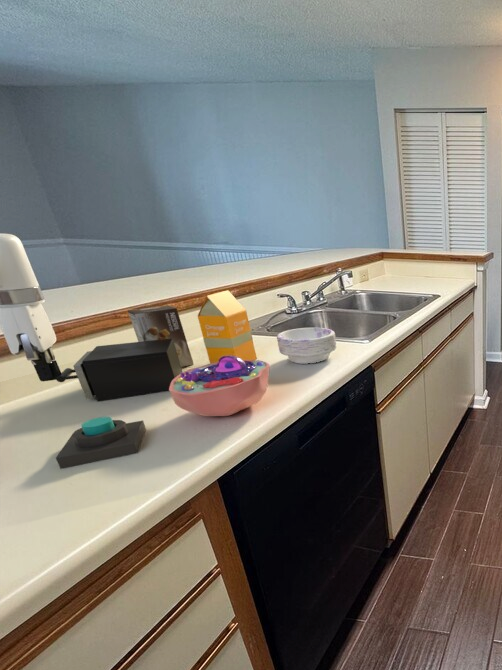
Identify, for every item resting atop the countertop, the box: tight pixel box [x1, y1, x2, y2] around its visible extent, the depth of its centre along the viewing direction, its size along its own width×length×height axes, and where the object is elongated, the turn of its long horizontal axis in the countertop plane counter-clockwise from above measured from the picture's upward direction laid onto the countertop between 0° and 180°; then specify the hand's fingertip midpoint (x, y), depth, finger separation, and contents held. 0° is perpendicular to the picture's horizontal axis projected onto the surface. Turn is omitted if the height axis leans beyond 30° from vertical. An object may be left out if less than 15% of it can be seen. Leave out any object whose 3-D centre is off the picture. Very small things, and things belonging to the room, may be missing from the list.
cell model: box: [168, 355, 270, 417], centre depth 90 cm, size 17×20×11 cm
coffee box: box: [127, 304, 194, 368], centre depth 113 cm, size 9×6×16 cm
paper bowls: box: [276, 327, 337, 365], centre depth 122 cm, size 15×15×8 cm
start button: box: [80, 416, 115, 435], centre depth 75 cm, size 4×4×2 cm
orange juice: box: [197, 289, 258, 364], centre depth 116 cm, size 8×9×20 cm
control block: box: [55, 419, 147, 470], centre depth 76 cm, size 10×10×4 cm
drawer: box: [55, 350, 96, 399], centre depth 99 cm, size 18×11×8 cm, turn 122°
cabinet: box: [82, 338, 184, 402], centre depth 101 cm, size 15×13×10 cm
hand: (51, 379), depth 94 cm, fingers closed
